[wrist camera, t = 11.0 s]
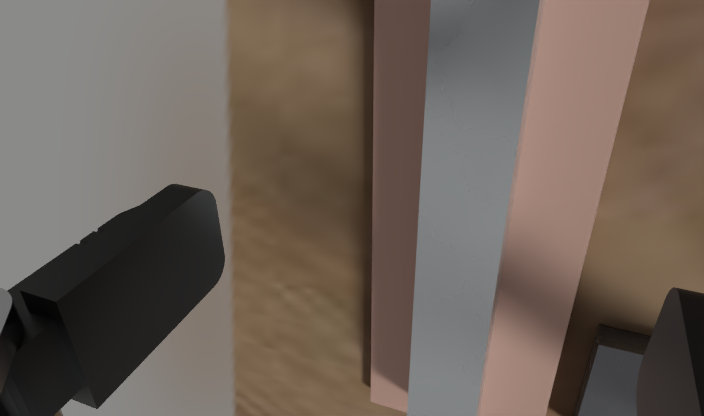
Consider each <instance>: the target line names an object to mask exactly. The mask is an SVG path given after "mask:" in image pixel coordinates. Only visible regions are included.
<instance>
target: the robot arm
mask: <svg viewBox="0 0 704 416" xmlns="http://www.w3.org/2000/svg"><path fill="white" fill-rule="evenodd" d="M224 262H225V254H224V248H223V242H222V236H221V230H220V223H219V217H218V211H217V205H216V200H215V198H214V196H213V194H212V193H211V192H210V191H207V190H203V189H198V188H192V187H188V186H183V185H178V184H171V185H169V186H167V187H165V188H164V189H163V190H161V191H160V192H158V193H157V194H156V195H154V196H153V197H151V198H150V199H148V200H147V201H146V202H144V203H143V204H141V205H140V206H137V207H135V208H132V209H130V210H127V211H125V212H122V213H120V214H118V215H117V216H115V217H114V218H112V219H111V220H109V221H108V222H106V223H105V224H103V225H102V226H101V227H99V228H98V231H97V232H94V231H93V232H92V233H90V234H89V235H88V236H86V237H85V238H83V239H82V240H81V241H80V244H75V245H73V246H72V247H70V248H69V249H67V250H66V251H64V252H63V253H61V254H60V255H59V256H57V257H56V258H54V259H53V260H52V261H50V262H49V263H47V264H46V265H44V266H43V267H41V268H40V269H38V270H37V271H35V272H34V273H33V274H31V275H30V276H28V277H27V278H25V279H24V280H22V281H21V282H19V283H18V284H17V285H15V286H14V287H12V288H11V289H9V290H8V291H6V290H4V289H2V288H0V416H63V414H62V411H61V408H62V407H63V406H64V405H65V404H66V403H67V402H68V401H69V400H70V399H73V400H75V401H78V402H80V403H83V404H86V405H88V406H91V407H93V408H96V409H98V408H99V407H100V406H101V405H102V404H103V403H104V402H105V400H106V399H107V398H108V397H109V396H110V395H111V394H112V393H113V392H114V391H115V390H116V389H117V388H118V387H119V386H120V385H121V384H122V383H123V382H124V380H126V378H127V377H128V376H129V375H130V374H131V373H132V372H133V371H134V370H135V369H136V368H137V367H138V366H139V365H140V364H141V363H142V362H143V361H144V360H145V358H147V356H148V355H149V354H150V353H151V352H152V351H153V350H154V349H155V348H156V347H157V346H158V345H159V344H160V343H161V342H162V341H163V340H164V339H165V338H166V337H167V335H168V334H169V333H170V332H171V331H172V330H173V329H174V328H175V327H176V326H177V325H178V324H179V323H180V322H181V321H182V320H183V319H184V318H185V317H186V316H187V315H188V314H189V312H190V311H191V310H192V309H193V308H194V307H195V306H196V305H197V304H198V303H199V302H200V301H201V300H202V299H203V298H204V297H205V296H206V295H207V294H208V292H210V290H211V289H212V288H213V287H214V286H215V285H216V284H217V282H218V281H219V279H220V277H221V274H222V272H223V268H224ZM636 408H637V416H704V294H703V293H698V292H693V291H688V290H684V289H679V288H672V289H671V290H670V291H669V293H668V294H667V296H666V299H665V301H664V304H663V306H662V309H661V312H660V314H659V317H658V320H657V322H656V325H655V328H654V330H653V333H652V335H651V338H650V341H649V343H648V346H647V349H646V351H645V354H644V356H643V359H642V362H641V366H640V370H639V374H638V380H637V388H636Z"/></svg>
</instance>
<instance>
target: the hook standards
mask: <svg viewBox="0 0 704 416" xmlns="http://www.w3.org/2000/svg"><path fill="white" fill-rule="evenodd" d="M650 338H651V337H650V336H645V335H641V334H637V333H632V332H628V331H623V330H619V329H614V328H610V327H605V326H601V325H599V326H598V330H597V333H596V336H595V340H594V343H593V347H592V350H591V354H590V357H589V361H588V364H587V368H586V371H585V375H584V378H583V382H582V385H581V388H580V392H579V395H578V399H577V402H576V406H575V409H574V413H573V416H637V408H636V388H637V380H638V374H639V370H640V366H641V362H642V359H643V356H644V354H645V351H646V349H647V346H648V343H649V341H650Z"/></svg>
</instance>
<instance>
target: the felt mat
mask: <svg viewBox="0 0 704 416" xmlns="http://www.w3.org/2000/svg"><path fill="white" fill-rule="evenodd" d="M648 4H649V0H545V4H544V11H543V17H542V23H541V30H540V36H539V42H538V49H537V55H536V61H535V68H534V74H533V80H532V87H531V93H530V99H529V106H528V112H527V118H526V125H525V131H524V137H523V144H522V150H521V156H520V163H519V169H518V175H517V182H516V188H515V194H514V201H513V207H512V213H511V220H510V226H509V232H508V239H507V245H506V251H505V258H504V264H503V270H502V277H501V283H500V289H499V296H498V302H497V308H496V315H495V321H494V327H493V334H492V340H491V346H490V353H489V359H488V365H487V372H486V378H485V384H484V391H483V397H482V403H481V410H480V416H545V415H546V411H547V407H548V403H549V399H550V395H551V391H552V387H553V383H554V379H555V375H556V371H557V367H558V363H559V359H560V355H561V351H562V347H563V343H564V339H565V335H566V331H567V327H568V323H569V319H570V315H571V312H572V308H573V304H574V300H575V296H576V292H577V288H578V284H579V280H580V276H581V272H582V268H583V264H584V260H585V256H586V252H587V248H588V244H589V240H590V236H591V232H592V228H593V224H594V220H595V216H596V212H597V208H598V204H599V200H600V196H601V192H602V188H603V184H604V180H605V176H606V172H607V168H608V164H609V160H610V156H611V152H612V148H613V144H614V140H615V136H616V132H617V128H618V124H619V120H620V116H621V112H622V108H623V104H624V100H625V96H626V92H627V88H628V84H629V80H630V76H631V72H632V68H633V64H634V60H635V56H636V52H637V48H638V44H639V40H640V36H641V32H642V28H643V24H644V20H645V16H646V12H647V8H648ZM430 8H431V0H374V99H373V206H372V312H371V402H373V403H377V404H380V405H383V406H386V407H390V408H393V409H396V410H400V411H403V412H406V413H407V406H408V389H409V372H410V354H411V337H412V320H413V302H414V285H415V268H416V250H417V233H418V216H419V198H420V181H421V164H422V146H423V129H424V112H425V94H426V77H427V60H428V42H429V25H430Z"/></svg>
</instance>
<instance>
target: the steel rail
mask: <svg viewBox="0 0 704 416" xmlns="http://www.w3.org/2000/svg"><path fill="white" fill-rule="evenodd" d="M544 4H545V0H431V8H430V25H429V42H428V60H427V77H426V94H425V112H424V129H423V146H422V164H421V181H420V198H419V216H418V233H417V250H416V268H415V285H414V302H413V320H412V337H411V354H410V372H409V389H408V406H407V416H480V410H481V403H482V397H483V391H484V384H485V378H486V372H487V365H488V359H489V353H490V346H491V340H492V334H493V327H494V321H495V315H496V308H497V302H498V296H499V289H500V283H501V277H502V270H503V264H504V258H505V251H506V245H507V239H508V232H509V226H510V220H511V213H512V207H513V201H514V194H515V188H516V182H517V175H518V169H519V163H520V156H521V150H522V144H523V137H524V131H525V125H526V118H527V112H528V106H529V99H530V93H531V87H532V80H533V74H534V68H535V61H536V55H537V49H538V42H539V36H540V30H541V23H542V17H543V11H544Z"/></svg>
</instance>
